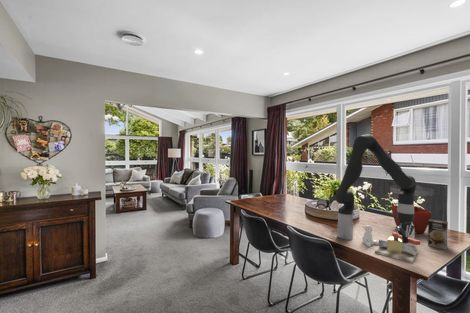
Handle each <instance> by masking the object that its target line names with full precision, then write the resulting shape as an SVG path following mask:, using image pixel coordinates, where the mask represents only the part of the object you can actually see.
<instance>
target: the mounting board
mask: <svg viewBox="0 0 470 313" xmlns="http://www.w3.org/2000/svg"><path fill="white" fill-rule="evenodd" d="M374 254H378V255H382V256H386V257H388V258H391V259H395V258H396V260H399V259H400V261H403V262H407V263H410V264H413V263H414V261H415V259H416V257H417V256H418V255H419V253H418V251H417V250H415V253H414V256H413V255H409V254H405V253H403V254H398V253H394V252H390V251H387V249H385V248H381V247H379V246H377V247H376V248H375V250H374Z"/></svg>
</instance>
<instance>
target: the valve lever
mask: <svg viewBox="0 0 470 313" xmlns="http://www.w3.org/2000/svg"><path fill="white" fill-rule="evenodd" d="M391 235H392V237H393V238H394V239H398V238H400V239H402V235H399V233H398V232H395V231H394V232H392V233H391ZM408 242H409V243H411V244H414V245H415V246H420V245H421V240H420V239H419V240H418V239H416V238H415V239H413V238H409V237H408Z"/></svg>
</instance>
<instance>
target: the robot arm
mask: <svg viewBox="0 0 470 313" xmlns="http://www.w3.org/2000/svg"><path fill="white" fill-rule="evenodd" d="M366 150H369V151H370V152H371V153H372V154H373V155H374V156H375V158H376V159H377V162H378V164H379V165H380V168H382V169H383V170H384V171H385V172H386V173H387V174H388V175H389V176H390V178H392V181H393V182H394V183H395V184H396V185H397V186H398V187H399V188H400V190H399V193H398V195H397V205H396V206H397V219H398V220H399V226H398V227H397V226H395V229H396V231H397V233H399V235H402V242H403V243H405V244H406V243H408V237H409V235H411V233H412V231H413V229H414V225H412V222H413V221H414V206H415V204H414V203H415V196H414V195H415V190H416V185H417V184H416V183H417V182H416V179H415V178H414V177H413V176H412V175H407V174H406V173H405V172H404V171H403V169H402V167H401V166H400V165H399V164H398V163H397V162H396V161H395V160H394V159H392V158H393V157H391V156H390V155H389V154H388V153H387V152H386V151H385V149H384V148H383V147H382V146H381V144H380V143H379V142H378V141H377V139H376V138H375V137H374V136H373V135H372V134H362V135H361V134H360V135H358V136H356V138H355V139H354V141H353V146H352V149H351V154H350V156H349V160H348V162H347V165H346V168H345V171H344V175H343V177H342V180H341V182H340V183H339V186H338V188H337V190H336V193H335V202H337V204H340V205H342V206H339V207H338V209H337V210H338V211H337V213H338V215H337V216H338V217H337V218H338V219H337V220H338V222H337V223H336V224H337V225H336V233H337V234H336V235H337V236H336V237H338V238H339V239H342V240H346V241H348V240H353V238H354V237H353V236H354V229H353V228H354V219H353V218H354V217H353V216H354V215H353V213H354V211H355V210H354V209H355V194H354V193H353V191H352V190H349V189H350V188H351V187H352V186H353V185H354V184H355V183H356V182H358V180H359V179H360V177H361V174H362V171H363V157H364V154H365V152H366Z"/></svg>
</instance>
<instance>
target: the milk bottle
mask: <svg viewBox="0 0 470 313" xmlns="http://www.w3.org/2000/svg"><path fill="white" fill-rule="evenodd" d="M412 225H413V223H412ZM415 234H416V233H415V231H414V229H413V231H412V233H411V235H409V238H413V239H416V238H415V236H416V235H415ZM404 245H405V246H410V247H414V248H415V246H416V245H414V244H411V243H409V242H408V243H406V244H405V243H404Z"/></svg>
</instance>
